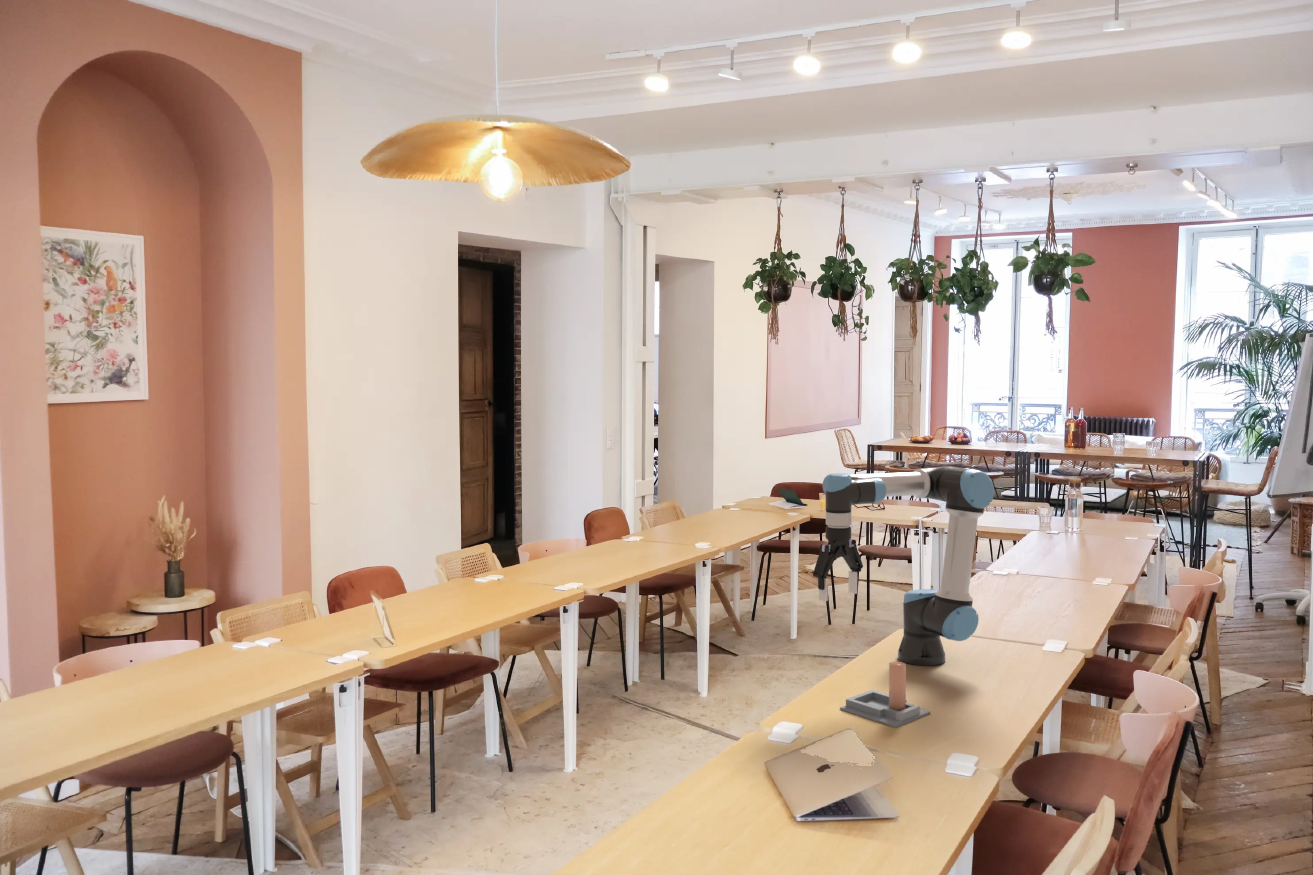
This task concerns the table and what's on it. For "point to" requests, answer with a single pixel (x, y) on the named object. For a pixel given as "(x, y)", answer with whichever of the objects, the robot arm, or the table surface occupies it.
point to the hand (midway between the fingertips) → (838, 596)
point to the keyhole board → (882, 709)
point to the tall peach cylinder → (897, 686)
